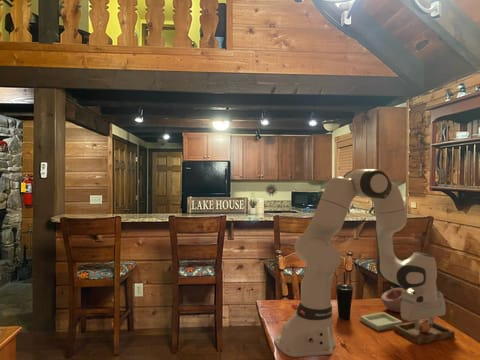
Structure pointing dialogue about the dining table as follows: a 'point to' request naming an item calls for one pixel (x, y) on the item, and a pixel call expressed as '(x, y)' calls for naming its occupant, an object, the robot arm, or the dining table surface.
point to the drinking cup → (344, 300)
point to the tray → (380, 321)
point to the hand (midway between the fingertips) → (423, 328)
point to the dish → (424, 338)
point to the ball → (424, 327)
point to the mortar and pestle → (393, 299)
